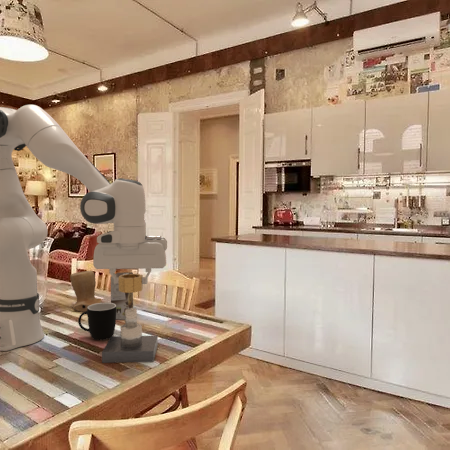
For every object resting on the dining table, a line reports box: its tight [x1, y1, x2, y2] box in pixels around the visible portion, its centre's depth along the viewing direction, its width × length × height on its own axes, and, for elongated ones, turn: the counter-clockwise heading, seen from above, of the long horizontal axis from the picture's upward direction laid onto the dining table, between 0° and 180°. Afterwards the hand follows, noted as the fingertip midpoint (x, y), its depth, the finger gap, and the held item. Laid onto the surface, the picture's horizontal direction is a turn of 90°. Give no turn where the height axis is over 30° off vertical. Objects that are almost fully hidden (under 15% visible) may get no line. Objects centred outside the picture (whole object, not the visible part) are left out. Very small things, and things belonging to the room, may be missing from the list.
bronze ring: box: [119, 273, 144, 294], centre depth 112 cm, size 6×6×4 cm
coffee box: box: [110, 272, 134, 321], centre depth 149 cm, size 9×6×16 cm
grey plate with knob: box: [101, 307, 159, 364], centre depth 114 cm, size 14×12×13 cm
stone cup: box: [70, 270, 103, 313], centre depth 159 cm, size 15×12×15 cm
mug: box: [77, 302, 117, 341], centre depth 127 cm, size 12×9×10 cm
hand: (130, 283), depth 112 cm, fingers closed on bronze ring, 6 cm apart
